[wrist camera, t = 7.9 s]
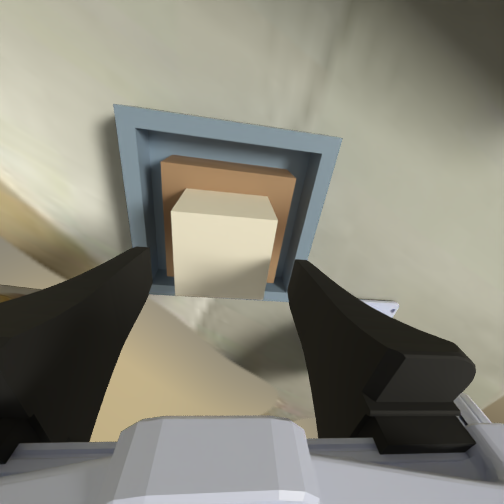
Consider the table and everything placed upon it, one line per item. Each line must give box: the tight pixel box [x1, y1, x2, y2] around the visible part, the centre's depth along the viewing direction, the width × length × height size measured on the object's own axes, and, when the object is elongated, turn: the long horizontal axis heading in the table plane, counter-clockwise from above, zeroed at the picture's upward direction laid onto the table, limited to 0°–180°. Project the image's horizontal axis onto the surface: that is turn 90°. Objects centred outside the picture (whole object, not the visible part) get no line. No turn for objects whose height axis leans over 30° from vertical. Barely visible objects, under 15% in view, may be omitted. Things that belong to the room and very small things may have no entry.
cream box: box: [171, 188, 278, 300], centre depth 14 cm, size 5×5×4 cm
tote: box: [113, 104, 343, 302], centre depth 18 cm, size 13×13×3 cm
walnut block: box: [161, 155, 296, 283], centre depth 17 cm, size 8×8×3 cm
